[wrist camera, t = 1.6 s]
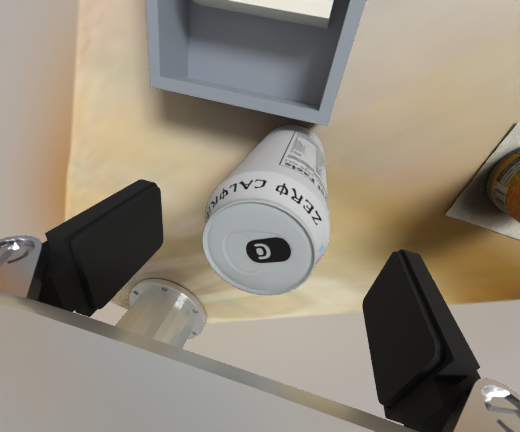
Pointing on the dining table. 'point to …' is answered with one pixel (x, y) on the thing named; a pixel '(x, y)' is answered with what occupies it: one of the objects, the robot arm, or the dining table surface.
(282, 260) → the energy drink can
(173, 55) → the walled box
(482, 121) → the dining table surface
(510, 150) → the condiment
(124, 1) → the dining table surface
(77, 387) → the robot arm
